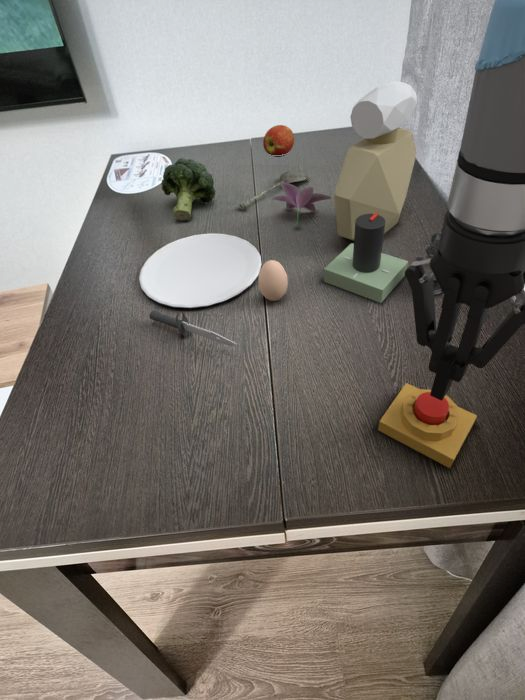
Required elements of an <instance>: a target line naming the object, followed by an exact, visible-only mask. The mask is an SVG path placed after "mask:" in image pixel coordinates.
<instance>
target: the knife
mask: <svg viewBox="0 0 525 700" xmlns="http://www.w3.org/2000/svg"><path fill="white" fill-rule="evenodd" d="M181 314H182V319H179V316H180V315H181ZM148 317H149V319H150V320H152V321H154V322H159V323H161V324H164V325H166V326H170V327H173V328H175V329H177V330H178V332H179V333H180V334H181V335H182V336H183V337H184V338H186V337H187V336H188V335H189V334H190V333H192V334H195V335H198V336H200V337H203V338H205V339H208V340H211V341H214V342H216V343H220V344H223V345H225V346H237V345H239V344H238V343H236V342H234V341H233V340H231V339H229V338H227V337H224V336H223V335H221V334H218V333H217V332H214V331H212V330H209V329H205V328H203V327H200V326H196V325H195V324H192V323H189V322H190V321H189V320H188V319H189V318H187V317H186V314H185V313H184V312H183V311H179V312H178V313H177V314H176V316H175V317H173V316H170V315H167V314H164V313H161V312H160V311H158V310H151V311H150V312H149V315H148Z"/></svg>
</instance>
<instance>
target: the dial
mask: <svg viewBox="0 0 525 700" xmlns="http://www.w3.org/2000/svg"><path fill="white" fill-rule="evenodd" d="M384 230H385V219H384V218H383V217H382V216H380V215H379V213H375V214H364V215H361V216H359V217H358V218H357V219H356V221H355V235H354V241H353V244H354V249H353V262H352V265H353V267H354V269H355V270H357V271H359V272H364V273H369V272H374V271H376V270H377V269H378V268H379V267H380V261H381V253H383V245H384V238H385V233H384Z"/></svg>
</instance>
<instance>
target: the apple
mask: <svg viewBox="0 0 525 700" xmlns="http://www.w3.org/2000/svg"><path fill="white" fill-rule="evenodd" d="M262 141H263V142H262V145H263V149H264V151H265V152H266V154H268V155H270V154H271V155H270V156H272V155H282V154H286V153H288V152H289V151H290V152H291V150H292V149H293V147H294V145H295V135H294V132H293V130H292V129H291V127H288V126H287V125H283V124H277V125H274V126H272V127H270V128H269V129H268V130H267V131H266V132H265V134H264V137H263V140H262ZM290 152H289V153H290ZM289 153H288V154H289ZM286 155H287V154H286ZM286 155H283V156H273V157H275V158H281V157H282V158H283V157H284V156H286Z"/></svg>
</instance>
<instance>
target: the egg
mask: <svg viewBox="0 0 525 700" xmlns="http://www.w3.org/2000/svg"><path fill="white" fill-rule="evenodd" d="M257 278H258V279H257V282H258V288H259V291H260V293H261V294H262V296H263V297H264V299H267V300H269V301H271V302H275V301H278V300H281V299H282V298H283V297H284V296H285V294H286V292H287V290H288V286H289V282H288V281H289V280H288V275H287V272H286V270H285V268H284V267H283V265H282V264H281V263H280V262H279V261H277V260H275V259H270V260H267V261H265V262H264V263H263V265H262V266H261V269H260V273H259V276H258V277H257Z"/></svg>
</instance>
